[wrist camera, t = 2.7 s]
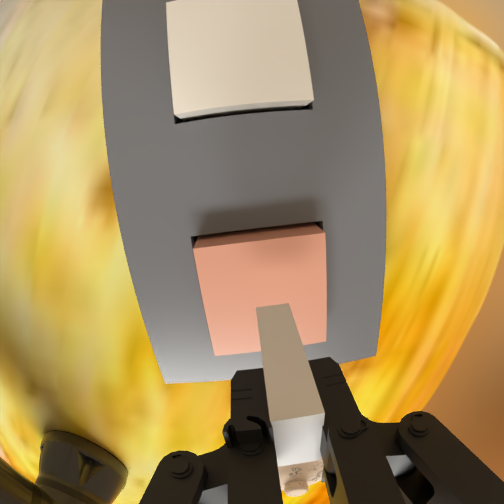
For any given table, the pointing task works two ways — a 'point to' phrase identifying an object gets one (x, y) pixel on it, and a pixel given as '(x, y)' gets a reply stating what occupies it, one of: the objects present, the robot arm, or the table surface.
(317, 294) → the terracotta key
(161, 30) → the key box
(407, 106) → the table surface
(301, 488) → the teacup with lid
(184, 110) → the ivory key
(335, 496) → the robot arm
